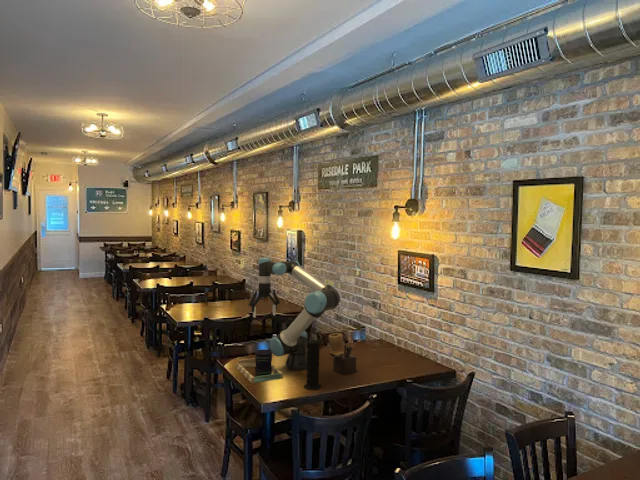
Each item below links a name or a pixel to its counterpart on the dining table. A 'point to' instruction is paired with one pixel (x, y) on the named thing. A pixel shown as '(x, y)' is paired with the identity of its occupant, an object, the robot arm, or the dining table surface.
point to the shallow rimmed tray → (252, 363)
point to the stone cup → (336, 343)
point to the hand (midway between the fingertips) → (264, 316)
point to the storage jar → (263, 362)
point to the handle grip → (312, 365)
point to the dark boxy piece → (345, 362)
